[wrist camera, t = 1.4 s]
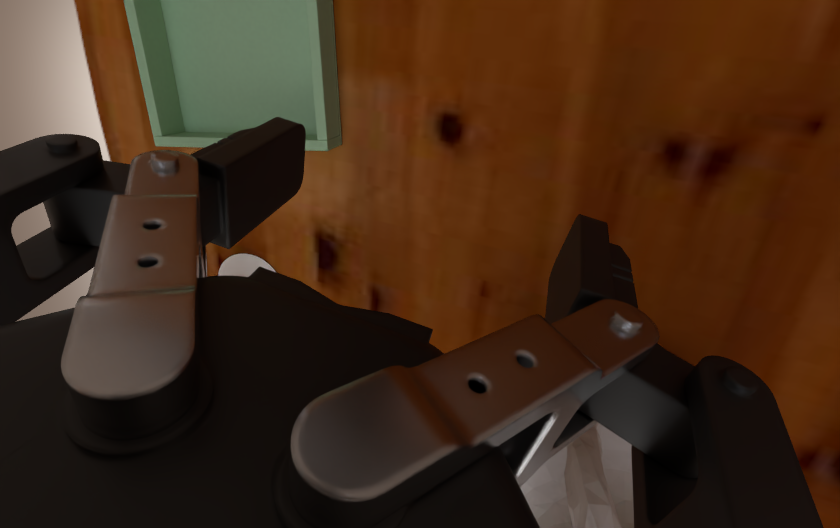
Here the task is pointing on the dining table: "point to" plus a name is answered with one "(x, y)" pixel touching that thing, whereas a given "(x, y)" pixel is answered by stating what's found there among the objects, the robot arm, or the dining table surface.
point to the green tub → (236, 68)
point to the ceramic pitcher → (585, 484)
